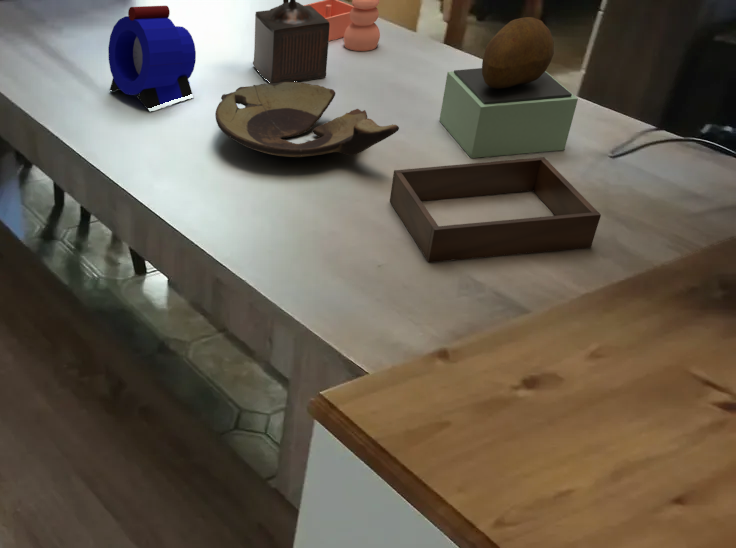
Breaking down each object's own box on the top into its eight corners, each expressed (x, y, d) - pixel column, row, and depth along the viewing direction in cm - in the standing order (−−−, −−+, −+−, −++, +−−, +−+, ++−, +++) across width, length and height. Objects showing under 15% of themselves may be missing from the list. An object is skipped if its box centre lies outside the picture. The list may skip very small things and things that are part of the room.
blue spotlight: (106, 93, 162) (99, 1, 152) (162, 75, 166) (160, -15, 156) (146, 113, 154) (142, 18, 144) (204, 94, 159) (204, 1, 149)
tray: (591, 247, 115) (601, 214, 112) (428, 262, 115) (434, 229, 112) (536, 187, 128) (544, 156, 125) (389, 201, 127) (393, 170, 124)
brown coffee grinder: (305, 57, 170) (312, -51, 158) (327, 78, 161) (336, -35, 149) (223, 68, 168) (225, -41, 156) (242, 89, 160) (244, -24, 148)
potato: (455, 81, 137) (466, 19, 131) (519, 65, 140) (532, 4, 134) (494, 100, 131) (507, 36, 125) (560, 83, 134) (575, 19, 128)
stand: (564, 150, 136) (579, 95, 131) (470, 158, 135) (481, 104, 130) (526, 113, 146) (538, 61, 141) (439, 120, 146) (448, 69, 141)
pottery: (292, 30, 181) (295, -24, 174) (330, 20, 184) (335, -34, 177) (351, 56, 169) (357, -2, 162) (391, 45, 172) (399, -12, 165)
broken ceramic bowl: (310, 102, 154) (314, 54, 149) (417, 172, 133) (426, 119, 128) (189, 129, 148) (188, 81, 143) (280, 206, 127) (283, 153, 122)
